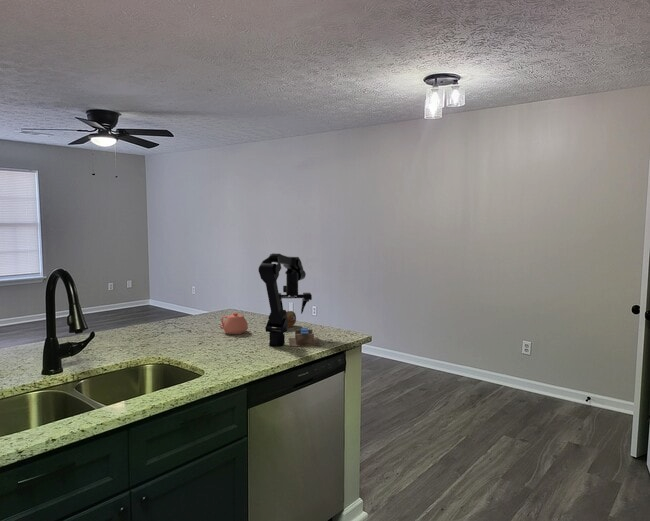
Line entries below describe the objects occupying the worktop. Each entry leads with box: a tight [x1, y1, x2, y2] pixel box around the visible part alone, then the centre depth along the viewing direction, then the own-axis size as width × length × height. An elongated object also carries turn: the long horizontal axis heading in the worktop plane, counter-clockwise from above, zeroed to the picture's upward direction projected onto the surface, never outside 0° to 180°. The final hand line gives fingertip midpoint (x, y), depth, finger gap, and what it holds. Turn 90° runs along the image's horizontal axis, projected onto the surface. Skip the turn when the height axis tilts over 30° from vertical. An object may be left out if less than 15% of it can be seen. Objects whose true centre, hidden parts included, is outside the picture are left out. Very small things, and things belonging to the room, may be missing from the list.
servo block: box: [299, 327, 309, 334], centre depth 215 cm, size 3×9×6 cm, turn 7°
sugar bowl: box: [219, 312, 249, 335], centre depth 233 cm, size 12×14×10 cm
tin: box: [286, 310, 297, 329], centre depth 245 cm, size 15×3×8 cm, turn 143°
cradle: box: [288, 328, 322, 348], centre depth 215 cm, size 14×14×5 cm
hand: (292, 313), depth 227 cm, fingers open, 9 cm apart
